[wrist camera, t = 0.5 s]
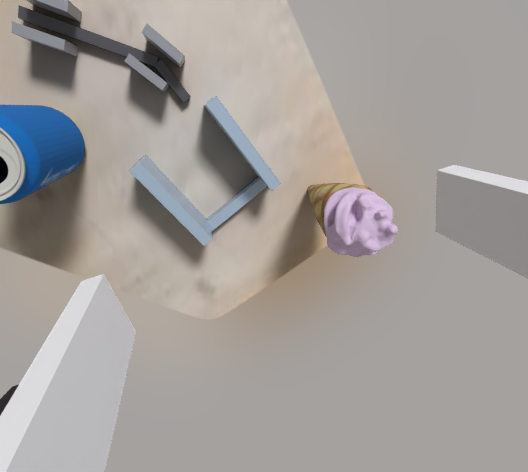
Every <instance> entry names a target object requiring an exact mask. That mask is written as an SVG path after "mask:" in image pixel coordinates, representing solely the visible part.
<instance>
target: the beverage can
mask: <svg viewBox="0 0 528 472" xmlns="http://www.w3.org/2000/svg"><path fill="white" fill-rule="evenodd" d="M84 153H85V144H84V139H83V136H82V134H81V132H80V130H79V128H78V127H77V126H76V124H75V123H74V122H73V121H72V120H71V119H70V118H69V117H67V116H66V115H65V114H63V113H62V112H60V111H58V110H56V109H53V108H50V107H46V106H36V105H0V204H6V203H11V202H15V201H17V200H20V199H22V198H24V197H25V196H27V195H29V194H31V193H33V192H35V191H37V190H39V189H40V188H42V187H44V186H46V185H48V184H50V183H52V182H54V181H55V180H57V179H59V178H61V177H63V176H65V175H67V174H68V173H70V172H72V171H74V170H75V169H76V168H77V167H78V166H79V165H80V164H81V162H82V160H83V157H84Z"/></svg>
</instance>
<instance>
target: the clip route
mask: <svg viewBox="0 0 528 472" xmlns="http://www.w3.org/2000/svg"><path fill="white" fill-rule="evenodd" d="M27 1H28V2H30V3H31V4H33V5H35V6H38V7H41V8H43V9H46V10H49V11H52V12H54V13H57V14H60V15H62V16H65V17H68V18H70V19H73V20H76V21H78V22H81V13H82V12H81V11H80V10H79V9H78V8H76V7H75V6H74V5H73V4H72V3H71V2H70V1H69V0H27ZM18 18H20V19H22V20H23V21H26V22H29V23H32V24H35V25H37V26H40V27H43V28H46V29H49V30H51V31H54V32H57V33H60V34H63V35H66V36H68V37H71V38H74V39H77V40H80V41H82V42H85V43H88V44H91V45H94V46H96V47H99V48H102V49H105V50H108V51H110V52H113V53H116V54H119V55H122V56H124V57H127V58H126V59H125V61H124V62H126V63H127V64H128V65H130V66H131V67H132V68H134V69H135V70H136V71H137V72H139V73H140V74H141V75H143V76H144V77H145V78H147V79H148V80H149V81H150V82H152V83H153V84H154V85H156V86H157V87H158V88H160V89H161V90H162V91H164V92H165V91H166V90H167V88H168V87H169V85H170V86H171V87H172V89H173V90H174V91H175V92H176V94H177V95H178V96H179V97H180V99H181V100H182V101H183V102H185V101H186V100H188V99H189V98H190V95H189V94H188V93H187V92H186V90H185V89H184V88H183V86H182V85H181V84H180V83H179V81H178V80H177V79H176V77H175V76H174V75H173V74H172V72H171V71H170V70H169V68H168V67H167V66H166V65H165V63H164V62H163V61H162V59H160V60H159V57H158V56H155V55H152V54H150V53H147V52H144V51H141V50H139V49H136V48H133V47H131V46H128V45H125V44H122V43H120V42H117V41H114V40H112V39H109V38H106V37H103V36H101V35H98V34H95V33H92V32H90V31H87V30H84V29H82V28H79V27H76V26H73V25H71V24H68V23H65V22H63V21H60V20H57V19H54V18H52V17H49V16H46V15H44V14H41V13H38V12H35V11H33V10H30V9H27V8H25V7H22V6H19V11H18ZM12 33H13V34H16V35H18V36H21V37H23V38H25V39H28V40H30V41H33V42H36V43H38V44H41V45H44V46H47V47H50V48H53V49H56V50H59V51H62V52H65V53H68V54H71V55H74V56H77V53H78V47H77V46H75V45H73V44H72V43H70V42H68V41H66V40H64V39H61V38H58V37H55V36H53V35H50V34H47V33H44V32H41V31H38V30H36V29H33V28H30V27H27V26H24V25H21V24H19V23H16V22H13V21H12ZM142 33H143V35H144V37H145V38H146V40H147V41H149V42H150V43H151V44H152V45H153V46H155V47H156V48H157V49H158V50H159V51H161V52H162V53H163V54H164V55H166V56H167V57H168V58H169V59H170V60H172V61H173V62H174V63H175V64H176V65H178V66H179V67H180V68H181V66H182V64H183V63H184V61H185V56H184V55H183V54H182V53H181V52H180V51H179V50H177V49H176V48H175V47H174V46H173V45H172V44H170V43H169V42H168V41H167V40H166V39H164V38H163V37H162V36H161V35H160V34H159V33H157V32H156V31H155V30H154V29H153V28H152V27H150V26H149V25H148V24H146V26H145V27H144V29H143V31H142ZM142 63H144V64H147V65H150V66H153V67H155V68H156V69H157V70H158V71H159V72H160V74H161V75H162V76H163V77H164V79H165V80H166V81H167V82H168V83H167V82H165V81H164V80H163V79H162V78H160V77H159V76H158V75H156V74H155V73H154V72H153V71H151V70H150V69H149V68H148V67H146V66H145V65H144V64H142Z"/></svg>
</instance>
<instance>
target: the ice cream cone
mask: <svg viewBox="0 0 528 472" xmlns="http://www.w3.org/2000/svg"><path fill="white" fill-rule="evenodd" d="M307 192H308V196H309V199H310V203H311V206H312V209H313V212H314V214H315V216H316V219H317V221H318V223H319V225H320V226H321V228H322V230H323V232H324V234H325V236H326V237H327V244H328V247H329V248H330V249H331V250H332V251H334V252H335V253H337V254H341V255H350V256H355V257H359V256H362V255H371V254H376V251H379V250H381V249H383V248H385V247H387V246H389V245H391V244H392V242H393V240H394V237H395V235H396V234H397V232H398V228H397V227H396V226H395V225H393V224H392V219H393V209H392V207H391V206H390V205H388V204H387V203H386V202H385V200H384V199H382V198H380V197H378V196H377V195H376V194H375V193H374V192H373V191H372V190H371V189H370V188H368V187H366V186H363V185H356V184H346V183H330V184H318V185H311V186H309V187H308V189H307Z"/></svg>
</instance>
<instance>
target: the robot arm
mask: <svg viewBox="0 0 528 472" xmlns="http://www.w3.org/2000/svg"><path fill="white" fill-rule="evenodd" d="M436 197H437V199H436V232H438V233H440V234H442V235H444V236H446V237H448V238H450V239H452V240H453V241H456V242H457V243H460V244H461V245H463V246H465V247H467V248H469V249H471V250H473V251H475V252H477V253H479V254H481V255H483V256H485V257H487V258H489V259H491V260H493V261H495V262H497V263H499V264H501V265H503V266H505V267H506V268H508V269H511V270H512V271H514V272H516V273H518V274H520V275H522V276H524V277H526V278H528V182H527V181H523V180H519V179H514V178H510V177H504V176H501V175H496V174H492V173H487V172H483V171H478V170H474V169H469V168H465V167H461V166H456V165H452V166H449V167H446V168H443V169H440V170H437V195H436ZM135 334H136V331H135V329H134V327H133V326H132V324H131V322H130V320H129V319H128V317H127V315H126V313H125V311H124V309H123V308H122V306H121V304H120V302H119V300H118V299H117V297H116V295H115V293H114V292H113V290H112V288H111V286H110V284H109V282H108V281H107V279H106V277H105V275H104V274H102V275H99V276H96V277H93V278H89V279H86V280H83V281H81V283H80V284H79V286H78V288H77V289H76V291H75V293H74V295H73V296H72V298H71V299H70V301H69V303H68V304H67V306H66V308H65V309H64V311H63V313H62V314H61V316H60V318H59V319H58V321H57V323H56V324H55V326H54V328H53V329H52V331H51V333H50V334H49V336H48V338H47V339H46V341H45V343H44V344H43V346H42V348H41V349H40V351H39V352H38V354H37V356H36V357H35V359H34V361H33V362H32V364H31V366H30V367H29V369H28V371H27V372H26V374H25V376H24V377H23V379H22V381H21V383H20V384H19V385H16V386H13V387H12V388H11V389H10V390H9V391H8V392H7V393H6V394H5V395H4V396H3V397H2V398H1V399H0V472H105V468H106V463H107V458H108V454H109V449H110V445H111V441H112V437H113V432H114V428H115V423H116V419H117V414H118V410H119V406H120V401H121V397H122V392H123V388H124V384H125V379H126V375H127V370H128V366H129V361H130V357H131V352H132V348H133V343H134V339H135Z"/></svg>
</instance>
